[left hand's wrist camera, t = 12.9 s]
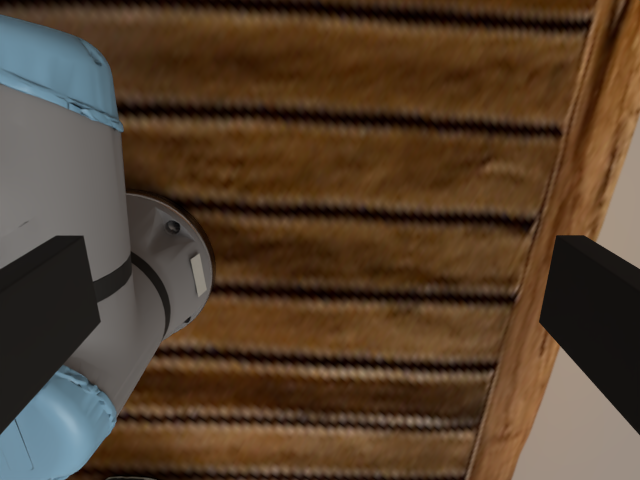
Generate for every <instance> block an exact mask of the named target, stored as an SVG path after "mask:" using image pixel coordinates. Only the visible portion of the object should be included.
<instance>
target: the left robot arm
mask: <svg viewBox="0 0 640 480" xmlns="http://www.w3.org/2000/svg"><path fill="white" fill-rule="evenodd" d="M121 132H123V125H122V123H121V122H120V121H119V117H118V112H117V106H116V99H115V92H114V85H113V78H112V73H111V69H110V66H109V64H108V62H107V61H106V59H105V58H104V56H103V55H102V54H101V53H100V51H99V50H97V49H96V48H95V47H94V46H92V45H91V44H90V43H88V42H87V41H85V40H83V39H81V38H79V37H76V36H74V35H71V34H68V33H65V32H62V31H59V30H56V29H52V28H49V27H46V26H43V25H39V24H35V23H31V22H27V21H24V20H20V19H16V18H12V17H9V16H5V15H1V14H0V480H65V479H66V478H68V476H69V475H71V474H73V473H74V472H77V471H78V470H79V469H80V468H82V466H83V465H84V464H85V463H86V462H87V461H88V460H89V459H90V457H91V456H92V455H93V453H94V452H95V451H96V449H97V448H98V447H99V445H100V444H101V443H102V442H103V440H104V439H105V438H106V437H107V436H108V435H109V434H110V433H111V431H112V429H113V428H114V426H115V423H116V421H117V420H116V418H117V416H118V415H119V413H120V411H121V410H122V408H123V406H124V405H125V403H126V401H127V399H128V398H129V396H130V394H131V393H132V391H133V389H134V387H135V386H136V384H137V382H138V381H139V379H140V377H141V376H142V374H143V372H144V370H145V369H146V367H147V365H148V364H149V362H150V360H151V359H152V357H153V355H154V353H155V352H156V350H157V348H158V347H159V345H160V343H161V342H162V341H163V340H164V339H166V338H168V337H169V336H171V335H172V334H173V333H175V332H177V331H179V330H180V329H182V328H183V327H185V326H186V325H188V324H189V323H190V322H191V321H193V320H194V319H195V318H196V317H197V316H198V314H199V313H200V312H201V310H202V309H203V307H204V305H205V304H206V302H207V300H208V298H209V296H210V294H211V291H212V289H213V285H214V281H215V273H216V265H215V257H214V253H213V249H212V246H211V244H210V241H209V239H208V237H207V235H206V234H205V232H204V230H203V229H202V227H201V226H200V225H199V223H198V222H197V221H196V220H195V219H194V218H193V217H192V216H191V215H190V214H189V213H188V212H187V211H186V210H184V209H183V208H182V207H180V206H179V205H177V204H176V203H174V202H173V201H171V200H169V199H167V198H165V197H162V196H160V195H157V194H154V193H151V192H147V191H142V190H132V189H125V179H124V166H123V154H122V141H121ZM539 323H540V324H541V325H542V326H543V327H544V328H545V329H546V330H547V331H548V333H549V334H550V335H551V336H552V337H553V338H554V339H555V340H556V342H557V343H558V344H559V345H560V346H561V347H562V348H563V349H564V351H565V352H566V353H567V354H568V355H569V356H570V357H571V358H572V359H573V361H574V362H575V363H576V364H577V365H578V366H579V367H580V369H581V370H582V371H583V372H584V373H585V374H586V375H587V376H588V378H589V379H590V380H591V381H592V382H593V383H594V384H595V385H596V386H597V388H598V389H599V390H600V391H601V392H602V393H603V394H604V396H605V397H606V398H607V399H608V400H609V401H610V402H611V403H612V405H613V406H614V407H615V408H616V409H617V410H618V411H619V412H620V413H621V415H622V416H623V417H624V418H625V419H626V420H627V421H628V422H629V424H630V425H631V426H632V427H633V428H634V429H635V430H636V431H637V432H638V434H639V435H640V269H639V268H637V267H635V266H634V265H632V264H630V263H629V262H627V261H625V260H624V259H622V258H621V257H619V256H617V255H616V254H614V253H612V252H611V251H609V250H607V249H606V248H604V247H602V246H601V245H599V244H597V243H596V242H594V241H592V240H591V239H589V238H587V237H586V236H584V235H556V240H555V245H554V250H553V255H552V260H551V265H550V270H549V275H548V280H547V285H546V290H545V295H544V300H543V305H542V310H541V315H540V320H539Z"/></svg>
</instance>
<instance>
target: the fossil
mask: <svg viewBox="0 0 640 480" xmlns="http://www.w3.org/2000/svg"><path fill="white" fill-rule="evenodd" d="M106 480H155V479H151V478H144V477H122V476H120V477H109V478H107V479H106Z"/></svg>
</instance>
